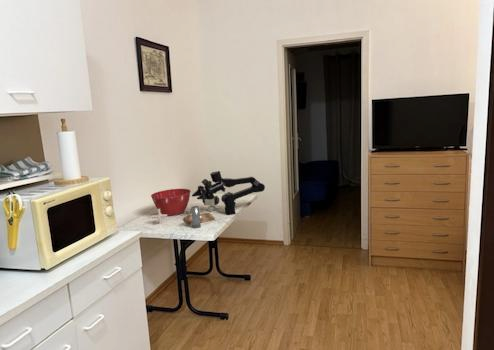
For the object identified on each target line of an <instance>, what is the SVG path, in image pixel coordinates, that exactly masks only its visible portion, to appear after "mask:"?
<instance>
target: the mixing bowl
mask: <svg viewBox="0 0 494 350" xmlns="http://www.w3.org/2000/svg"><path fill="white" fill-rule="evenodd" d="M150 197H151V199H152V201H153V204H154V205H155V207H156V209H160V213H161V214H162V215H163V214H167V217H171V216H178V215H180V214H183V213H184V211H186V209H187V207H188V204H189V201H190V197H191V189H189V188H173V189H172V188H171V189H164V190H160V191H157V192H154V193H152V194H151V195H150Z"/></svg>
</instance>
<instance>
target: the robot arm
mask: <svg viewBox="0 0 494 350" xmlns="http://www.w3.org/2000/svg"><path fill="white" fill-rule="evenodd" d="M209 175H210V177H211V178H210V179H211V180H212V181H211V180H208V179H206V178H204V179H203V180H202V181H201V183H202V184H203V186H202V185H200V184H199V185H198V186H197V189H196V191H195V192H194V193H192V194H191V197H196V199H197V200H203V199H209V200H210V199H211V200H212V199H214V196H215V194H217V193H218V192H220V191H221V192H224V194H222V195H221V199H220V200H221V202H222V203H223V204H224V209H223V210H224V214H225V215H227V216H229V215H236V214H237V212H236V200H237V199H240V198H243V197H246V196H248V195H250V194H253V193H261V192H264V191H265V188H266V186H265V184H264V183H261V182H260V181H258V180H257V179H256V178H255V176H249V177H248V176H247V177H239V178H228V177H226V178H225V177H224V178H223V177H222V175H221V171H220V170H218V171H213V172H210V173H209ZM212 183H213V184H212ZM244 184H251V186H249V187H247V188H244V189H241V190H239V191H236V192H234V193H233V192H230V191H227V192H226V188H232V187H235V186H237V185H244Z"/></svg>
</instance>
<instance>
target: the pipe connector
mask: <svg viewBox="0 0 494 350" xmlns="http://www.w3.org/2000/svg"><path fill="white" fill-rule="evenodd" d="M156 209H157V208H156ZM167 217H168V216H167V214H162V213H160V209H157V214H156V215H154V214H153V215H151V219H157V221H158V224H159V225H162V218H167Z"/></svg>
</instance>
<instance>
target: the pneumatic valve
mask: <svg viewBox="0 0 494 350" xmlns="http://www.w3.org/2000/svg"><path fill="white" fill-rule="evenodd" d="M201 200H202V204H204V206H208V207H207V211H208V212H214V211H216V206H217V205H218V204H220V200H221V199H220V197H218V195H214V199H212V200H211V199H210V200H209V199H201Z"/></svg>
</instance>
